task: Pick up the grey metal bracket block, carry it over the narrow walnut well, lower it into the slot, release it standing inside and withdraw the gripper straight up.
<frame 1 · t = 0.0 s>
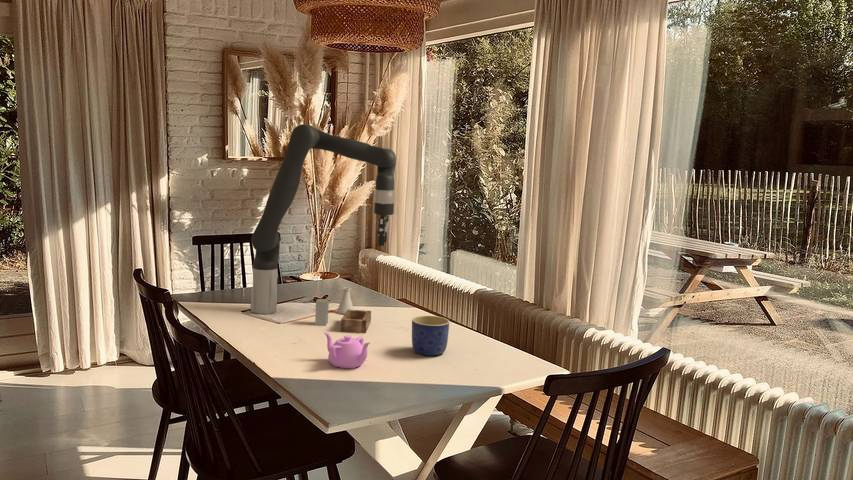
hand: (382, 243, 269), 29 cm above the table, fingers open, 8 cm apart
planter: (429, 352, 234), on the table
flask: (345, 313, 279), on the table
well: (356, 326, 259), on the table
teapot: (346, 364, 218), on the table
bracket: (321, 324, 261), on the table
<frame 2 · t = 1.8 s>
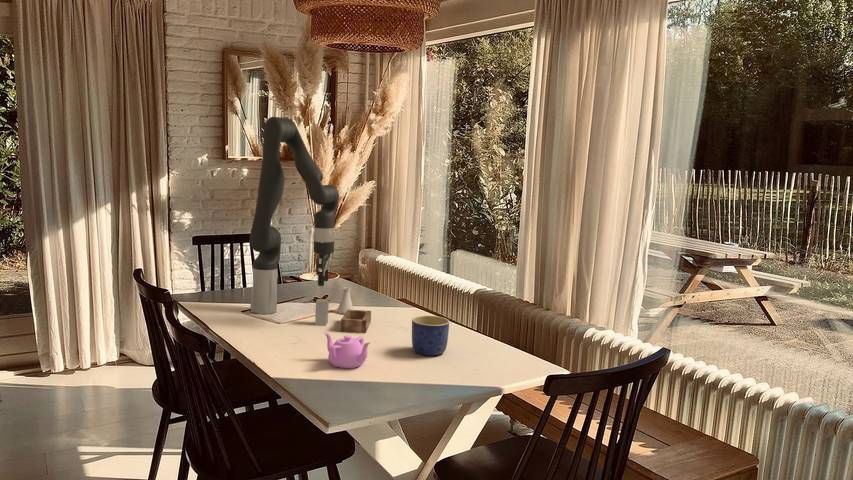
hand: (323, 283, 259), 15 cm above the table, fingers open, 8 cm apart
nothing on the table moved.
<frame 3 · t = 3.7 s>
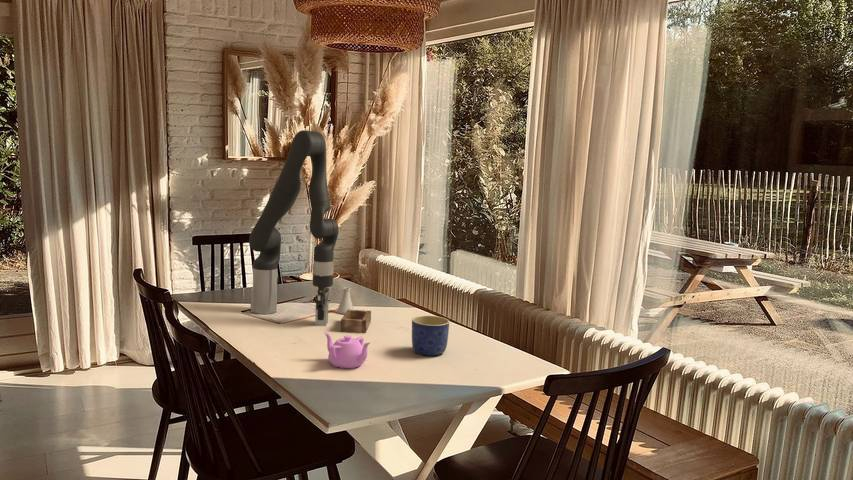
hand: (321, 318, 261), 2 cm above the table, fingers closed on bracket, 4 cm apart
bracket: (321, 324, 261), on the table, touching gripper
everything else where it was.
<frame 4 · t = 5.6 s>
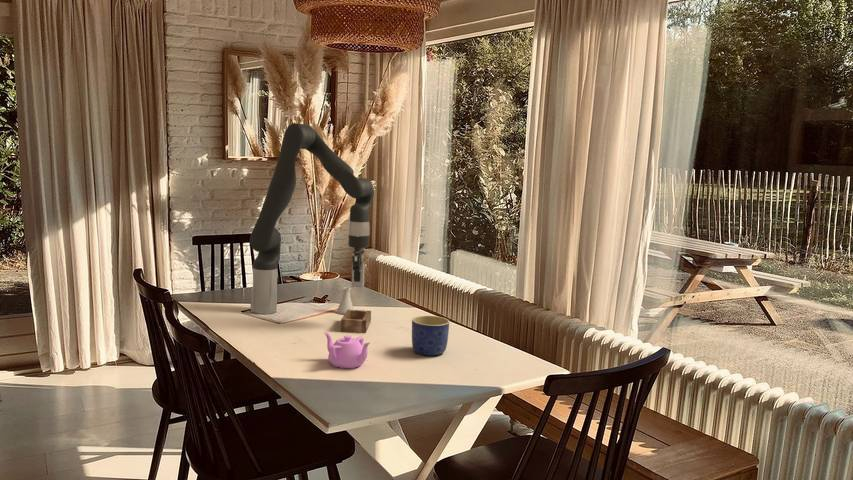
hand: (357, 280, 257), 18 cm above the table, fingers closed on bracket, 4 cm apart
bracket: (357, 286, 257), point 15 cm above the table, touching gripper
everything else where it was.
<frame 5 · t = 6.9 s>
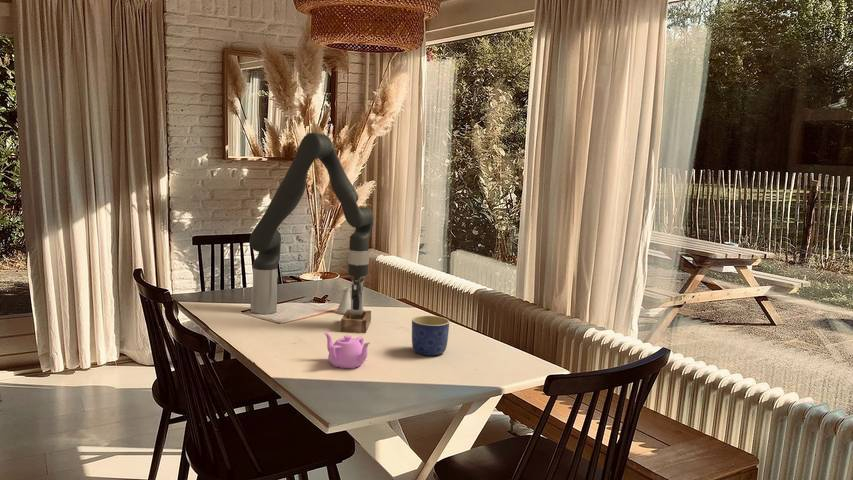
hand: (356, 307, 258), 7 cm above the table, fingers closed on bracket, 4 cm apart
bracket: (356, 313, 259), point 5 cm above the table, touching gripper
everything else where it was.
when the fingers open (4 cm above the table, at t = 8.0 s): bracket drops 1 cm, resting in well.
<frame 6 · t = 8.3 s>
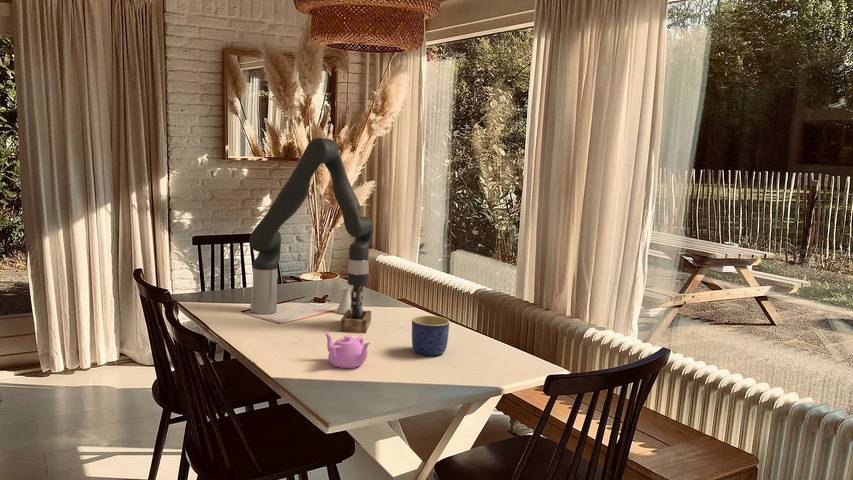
hand: (356, 315, 259), 4 cm above the table, fingers open, 7 cm apart
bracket: (356, 327, 259), resting in well
everything else where it was.
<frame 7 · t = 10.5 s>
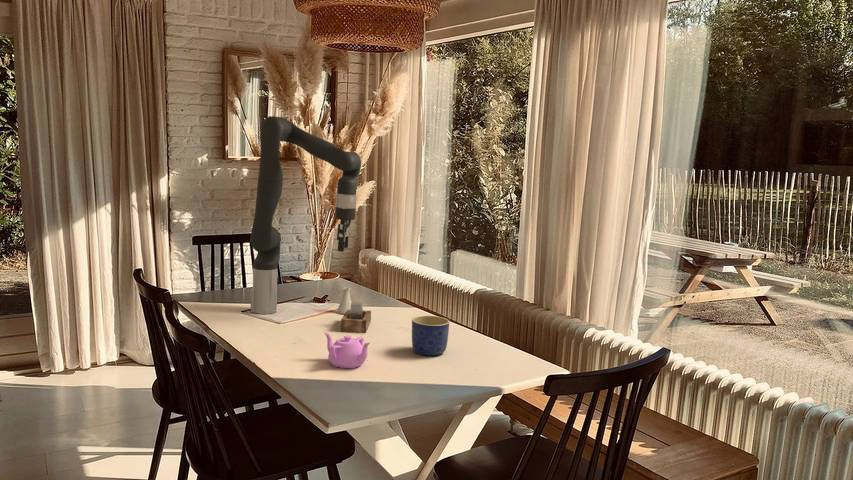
hand: (342, 249, 261), 28 cm above the table, fingers open, 8 cm apart
nothing on the table moved.
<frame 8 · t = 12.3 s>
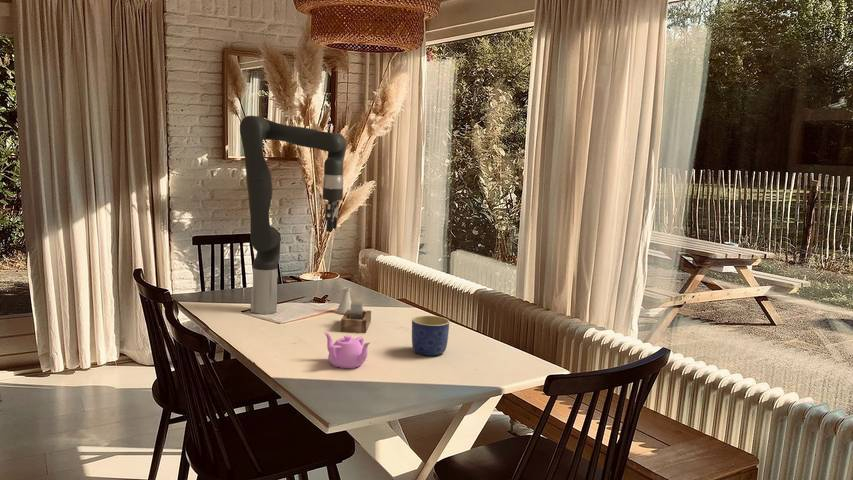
hand: (331, 230, 265), 34 cm above the table, fingers open, 8 cm apart
nothing on the table moved.
at the end: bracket inside the target area on the well (0.0 cm from its centre), point 0.0 cm above the well's base; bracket tilted 0°; the gripper is holding nothing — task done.
